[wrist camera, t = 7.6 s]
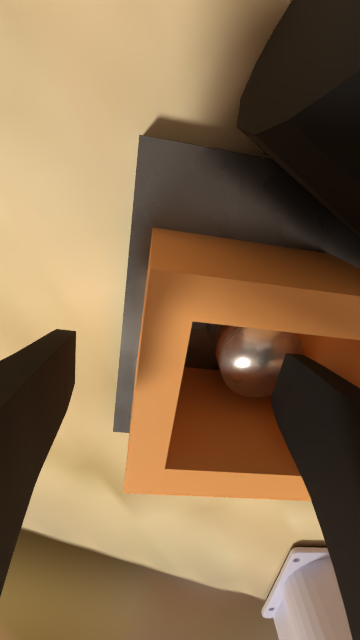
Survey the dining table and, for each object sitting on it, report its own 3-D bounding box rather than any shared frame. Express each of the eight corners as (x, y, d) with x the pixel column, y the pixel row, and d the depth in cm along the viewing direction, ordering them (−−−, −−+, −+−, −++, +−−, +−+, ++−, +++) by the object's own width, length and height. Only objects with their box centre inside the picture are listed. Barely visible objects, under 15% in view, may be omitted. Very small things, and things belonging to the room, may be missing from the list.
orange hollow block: (279, 395, 17) (337, 502, 11) (134, 382, 16) (123, 492, 10) (328, 253, 14) (441, 307, 8) (152, 227, 13) (150, 268, 7)
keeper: (298, 431, 19) (333, 495, 16) (115, 418, 18) (104, 484, 14) (397, 184, 14) (490, 189, 10) (140, 137, 12) (133, 122, 8)
